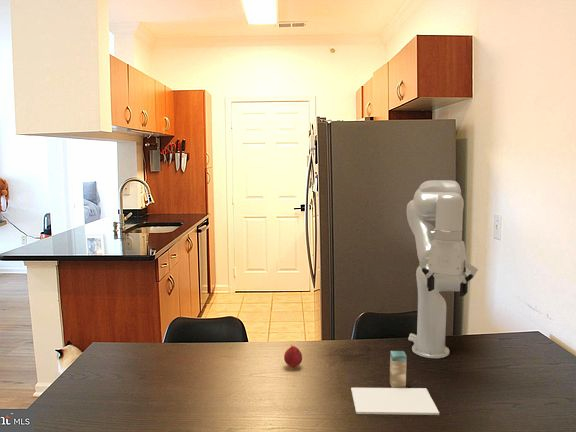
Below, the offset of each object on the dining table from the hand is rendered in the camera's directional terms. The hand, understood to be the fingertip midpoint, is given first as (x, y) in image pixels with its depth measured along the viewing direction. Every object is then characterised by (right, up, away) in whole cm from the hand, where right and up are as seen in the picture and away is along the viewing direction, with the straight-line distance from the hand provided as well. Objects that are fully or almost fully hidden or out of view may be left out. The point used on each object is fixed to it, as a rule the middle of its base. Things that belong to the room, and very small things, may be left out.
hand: (446, 293), depth 149 cm
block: (-14, -28, +1) cm, 31 cm away
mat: (-18, -29, -9) cm, 35 cm away
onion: (-46, -27, +13) cm, 54 cm away
